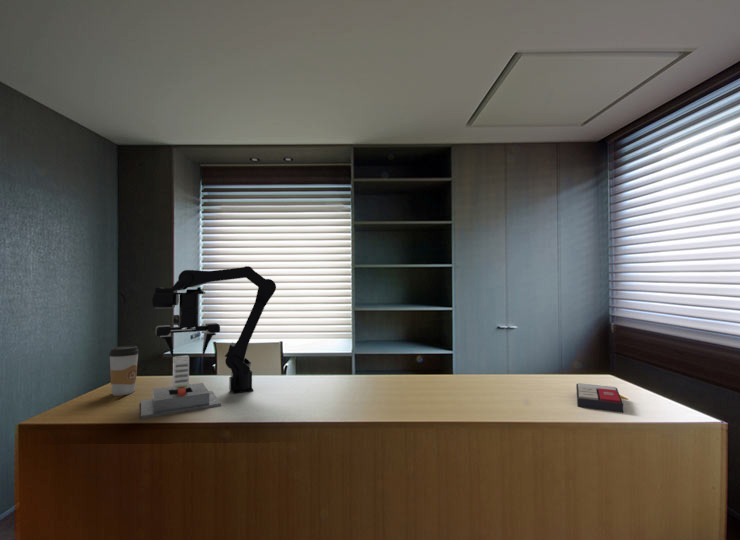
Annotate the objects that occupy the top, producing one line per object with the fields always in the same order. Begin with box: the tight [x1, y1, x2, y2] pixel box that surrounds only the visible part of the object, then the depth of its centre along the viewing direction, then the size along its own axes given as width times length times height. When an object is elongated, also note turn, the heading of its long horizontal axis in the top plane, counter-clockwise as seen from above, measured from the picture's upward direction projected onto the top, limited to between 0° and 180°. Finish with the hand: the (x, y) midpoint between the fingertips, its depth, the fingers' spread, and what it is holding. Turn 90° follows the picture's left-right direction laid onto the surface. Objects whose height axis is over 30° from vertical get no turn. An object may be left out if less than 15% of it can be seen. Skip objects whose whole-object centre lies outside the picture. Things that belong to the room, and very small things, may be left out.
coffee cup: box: [108, 345, 140, 397], centre depth 123 cm, size 8×8×15 cm
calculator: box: [575, 382, 624, 414], centre depth 111 cm, size 11×4×15 cm
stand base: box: [140, 382, 222, 420], centre depth 111 cm, size 20×16×6 cm
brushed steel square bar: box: [172, 355, 190, 390], centre depth 111 cm, size 4×4×9 cm
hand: (188, 355), depth 122 cm, fingers open, 9 cm apart
